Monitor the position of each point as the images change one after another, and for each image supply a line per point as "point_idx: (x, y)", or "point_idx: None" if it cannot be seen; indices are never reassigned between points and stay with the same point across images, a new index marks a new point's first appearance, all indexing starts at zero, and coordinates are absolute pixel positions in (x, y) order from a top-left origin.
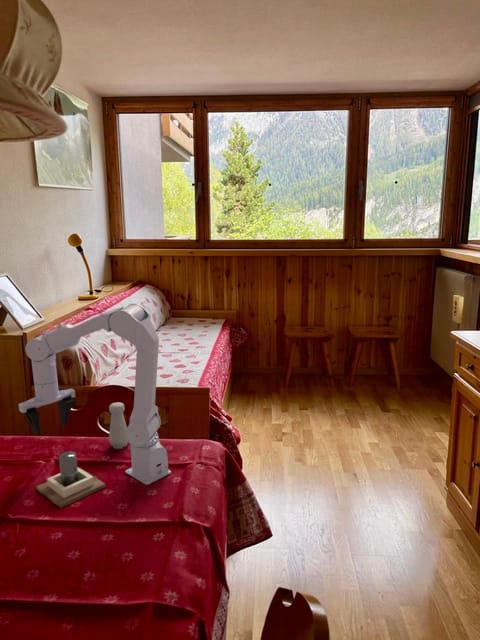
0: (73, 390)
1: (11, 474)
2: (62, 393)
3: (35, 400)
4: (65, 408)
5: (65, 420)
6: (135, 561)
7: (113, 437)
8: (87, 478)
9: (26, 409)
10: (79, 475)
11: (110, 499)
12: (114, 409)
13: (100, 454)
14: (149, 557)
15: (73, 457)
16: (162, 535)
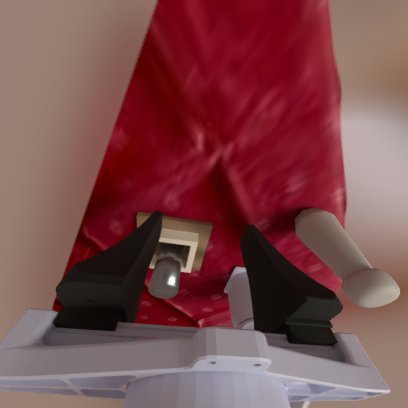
0: (349, 400)
1: (127, 129)
2: (300, 387)
3: (115, 388)
4: (254, 308)
5: (243, 260)
6: (144, 321)
7: (302, 237)
8: (183, 270)
9: (65, 334)
10: (189, 249)
11: (184, 281)
12: (350, 297)
13: (269, 212)
14: (153, 323)
15: (166, 297)
16: (174, 320)
